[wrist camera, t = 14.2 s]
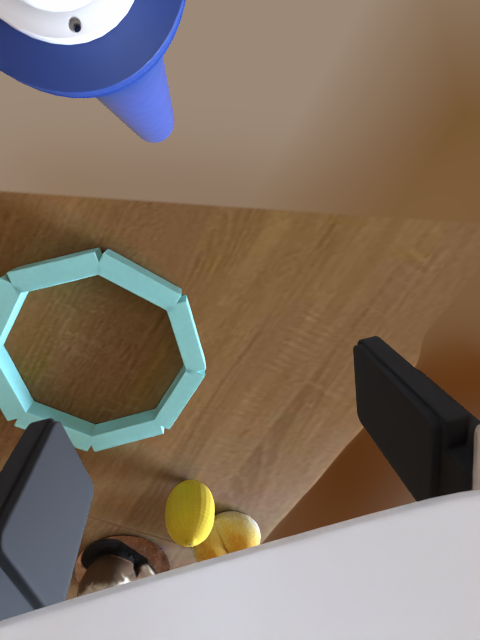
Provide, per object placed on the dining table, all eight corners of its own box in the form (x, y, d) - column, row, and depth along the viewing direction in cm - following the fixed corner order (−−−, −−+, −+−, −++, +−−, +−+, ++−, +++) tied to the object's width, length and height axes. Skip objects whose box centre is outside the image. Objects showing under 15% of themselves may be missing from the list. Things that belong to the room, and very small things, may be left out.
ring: (-56, 284, 31) (-71, 290, 29) (167, 230, 32) (166, 233, 30) (42, 454, 39) (35, 468, 37) (218, 407, 40) (220, 418, 38)
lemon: (190, 457, 42) (192, 516, 34) (221, 481, 44) (228, 542, 37) (156, 483, 43) (151, 547, 35) (188, 506, 45) (188, 570, 37)
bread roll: (263, 540, 49) (270, 569, 45) (201, 559, 49) (202, 590, 45) (250, 499, 46) (256, 527, 42) (183, 519, 45) (183, 549, 42)
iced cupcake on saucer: (194, 565, 47) (153, 663, 41) (155, 545, 54) (115, 626, 49) (126, 526, 42) (68, 631, 36) (93, 511, 50) (41, 596, 44)
